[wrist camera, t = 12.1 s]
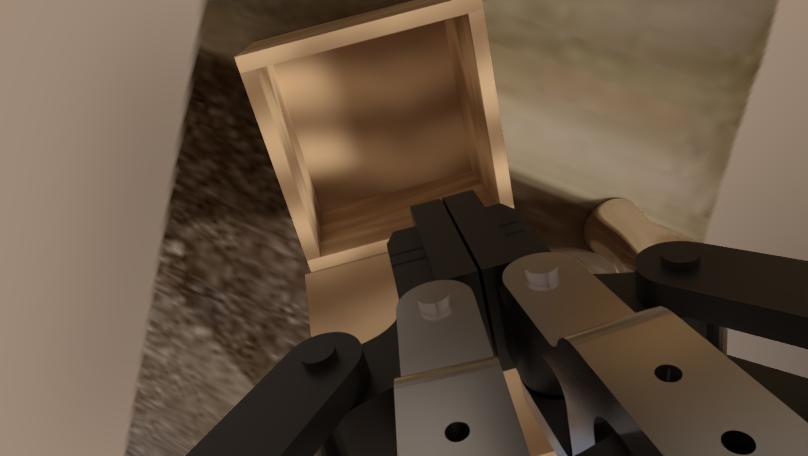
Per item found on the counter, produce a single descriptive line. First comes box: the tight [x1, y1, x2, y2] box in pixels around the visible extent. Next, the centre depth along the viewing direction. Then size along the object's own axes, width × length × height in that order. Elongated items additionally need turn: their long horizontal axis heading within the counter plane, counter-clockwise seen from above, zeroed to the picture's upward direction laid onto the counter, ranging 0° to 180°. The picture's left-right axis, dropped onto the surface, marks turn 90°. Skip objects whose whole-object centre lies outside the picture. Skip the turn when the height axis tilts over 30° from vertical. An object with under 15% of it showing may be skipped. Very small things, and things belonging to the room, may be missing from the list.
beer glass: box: [583, 198, 729, 330], centre depth 47 cm, size 7×7×15 cm
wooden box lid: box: [305, 252, 556, 456], centre depth 35 cm, size 17×17×1 cm
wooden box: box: [234, 0, 514, 272], centre depth 42 cm, size 16×16×10 cm
